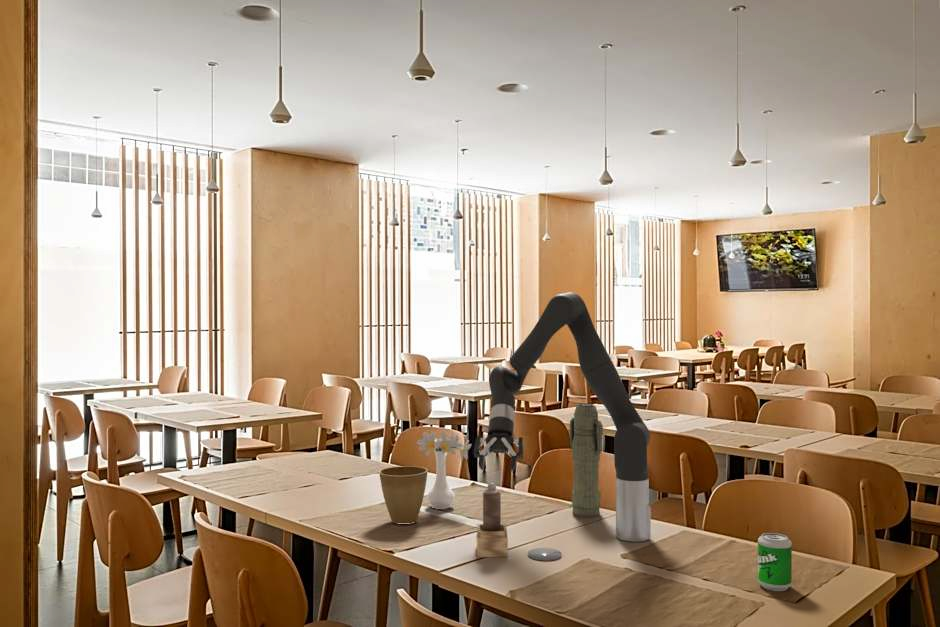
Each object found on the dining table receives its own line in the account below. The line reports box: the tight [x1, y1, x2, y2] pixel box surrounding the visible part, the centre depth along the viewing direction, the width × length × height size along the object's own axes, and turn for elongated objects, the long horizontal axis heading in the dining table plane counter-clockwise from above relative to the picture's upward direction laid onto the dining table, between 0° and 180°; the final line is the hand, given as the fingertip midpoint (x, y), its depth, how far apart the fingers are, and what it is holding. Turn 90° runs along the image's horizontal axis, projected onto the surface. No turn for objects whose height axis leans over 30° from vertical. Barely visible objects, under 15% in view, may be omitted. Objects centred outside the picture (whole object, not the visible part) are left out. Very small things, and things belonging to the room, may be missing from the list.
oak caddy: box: [476, 523, 509, 558], centre depth 214 cm, size 8×9×6 cm
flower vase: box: [416, 430, 472, 510], centre depth 261 cm, size 13×18×25 cm
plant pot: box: [378, 465, 428, 523], centre depth 244 cm, size 15×15×16 cm
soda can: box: [757, 532, 793, 592], centre depth 187 cm, size 8×8×12 cm
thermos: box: [569, 403, 604, 518], centre depth 252 cm, size 9×12×35 cm
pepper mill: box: [482, 482, 502, 531], centre depth 214 cm, size 5×5×14 cm
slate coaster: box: [527, 547, 563, 562], centre depth 211 cm, size 9×9×1 cm
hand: (496, 469), depth 225 cm, fingers open, 8 cm apart
